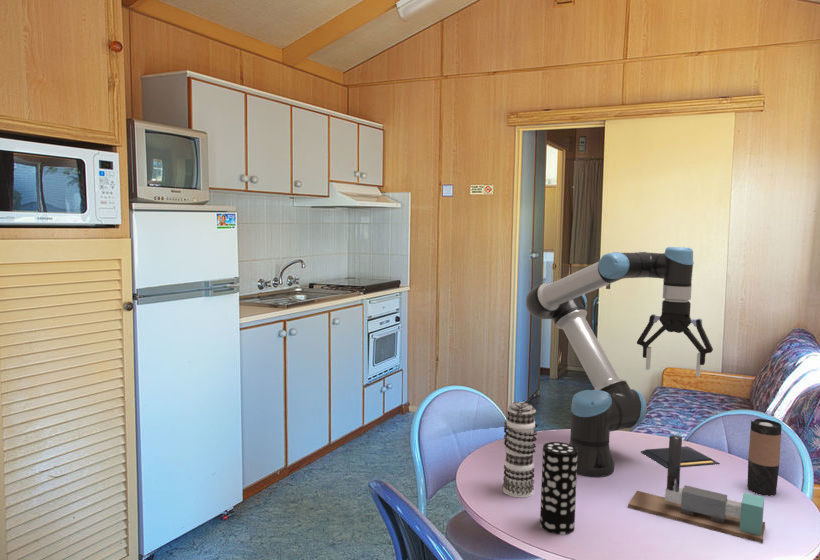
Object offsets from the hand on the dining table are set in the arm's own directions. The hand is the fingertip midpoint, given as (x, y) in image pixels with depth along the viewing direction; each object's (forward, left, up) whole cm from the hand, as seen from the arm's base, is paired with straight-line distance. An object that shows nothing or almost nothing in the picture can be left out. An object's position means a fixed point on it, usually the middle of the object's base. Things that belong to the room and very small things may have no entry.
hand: (672, 372), depth 173 cm
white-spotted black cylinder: (-17, -46, -33) cm, 59 cm away
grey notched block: (+13, -20, -33) cm, 40 cm away
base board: (+11, -20, -33) cm, 40 cm away
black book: (0, +22, -34) cm, 40 cm away
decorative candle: (-33, -33, -33) cm, 57 cm away
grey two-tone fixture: (+14, -20, -30) cm, 38 cm away
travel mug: (+24, +9, -33) cm, 42 cm away
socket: (+23, -20, -33) cm, 45 cm away
